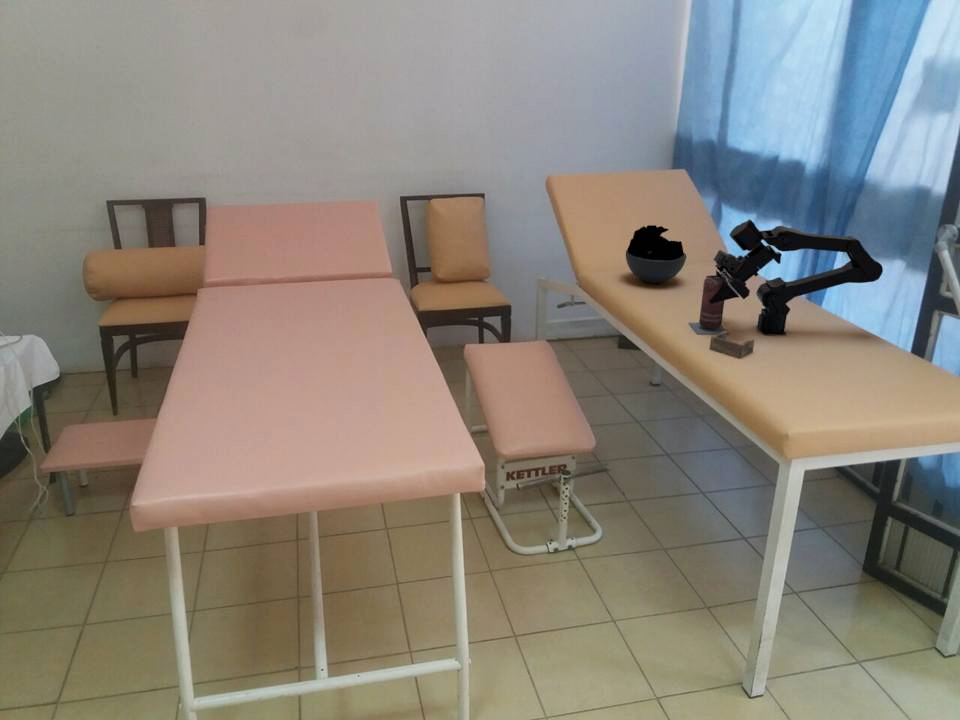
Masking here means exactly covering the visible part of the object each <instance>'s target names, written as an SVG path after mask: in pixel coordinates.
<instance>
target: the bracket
mask: <svg viewBox="0 0 960 720" xmlns="http://www.w3.org/2000/svg"><path fill="white" fill-rule="evenodd" d="M727 332H728V330H726V331H723V332H721V333H719V334H713V335H712V336H711V337H710V343H709V350H711V349H713V350H712V351H715V350H716V351H715V352H718V351H719V353H721V352H722V353H721V354H724V353H725V354H724V355H727V354H728V355H727V356H731V357H733V358H738V359H741V358H743V357H745V356H747V355H749V354H751V353H753V351H754V346H755V342H756V341H755V339H754V338H750V339H748V340H747V341H744V342H742V343H737V342H734V341H731V340H727V337H728V334H727ZM728 333H729V332H728Z"/></svg>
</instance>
